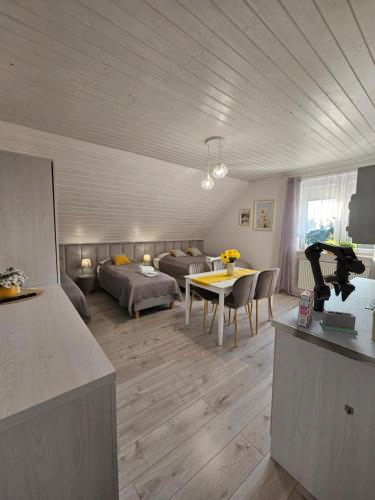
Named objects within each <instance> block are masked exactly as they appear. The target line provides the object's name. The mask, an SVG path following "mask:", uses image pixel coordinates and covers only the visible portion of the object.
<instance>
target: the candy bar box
mask: <svg viewBox="0 0 375 500" xmlns="http://www.w3.org/2000/svg"><path fill="white" fill-rule="evenodd" d="M313 304H314V290H313V291H312V290H306V289H305V290H303V291H302V292H301V293H300V294H299V302H298V312H297V324H296V325H297V326H299V327H303V328H305V329H306V328H308V327H309V326H310V324H311V323H312V321H313V313H314V312H313V311H314V310H313Z"/></svg>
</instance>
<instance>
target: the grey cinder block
mask: <svg viewBox="0 0 375 500" xmlns="http://www.w3.org/2000/svg"><path fill="white" fill-rule="evenodd" d="M322 312H323V313H322V320H323V323H324V324H325V325H326V326H334V327H342V328H350V329H356V320H357V317H356V316H355V314H354V313H351V312H345V311H344V312H343V311H336V310H335V311H333V310H326V309H325V310H323V311H322Z"/></svg>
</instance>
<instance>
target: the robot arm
mask: <svg viewBox="0 0 375 500" xmlns="http://www.w3.org/2000/svg"><path fill="white" fill-rule="evenodd" d="M324 251H327V252H330V253H331V254H333V256H335V258H333V261H336V266H335V267H336V268H335V270H334V271H333V273H330V274H326V275H323V272H322V267H321V263H320V259H321V254H322V253H323V252H324ZM303 253H304V255H305V258H306V259H307V260H308V261H309V264H310V269H311V272H312V276H313V281H314V287H313V292H314V302H313V311H315V312H323V310H326V308H325V302H326V301H327V302H328V301H329V300H330V298H331V296H332V294H331V293H332V291H331V288H330V285H327V284H331V285H332V286H333V289H334V295H335V297H339V295H340V296H341V302H343V303H344V302H346V300H347V299H348V298H349V297H350V295H352V293H353V292H355V291H356V286H355V285H354V284H353V283H351V281H350V280H349V278H350V276H351V275H352V274H355V275H362V274H363V273H364V272H365V271H366V266H365V264H364V263H363V260H361V259H358V256H357V255H356V253H355V251H354V249H353V247H352V246H348V245H347V246H346V245H345V246H343V245H342V246H341V245H339V246H338V245H336V244H332V243H329V242H325V241H315V242H314V243H313V244H311V245H309V246H307V247H306V248H305V250H304V252H303ZM351 273H352V274H351Z"/></svg>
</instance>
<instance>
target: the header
mask: <svg viewBox="0 0 375 500" xmlns="http://www.w3.org/2000/svg"><path fill="white" fill-rule="evenodd" d="M319 324H320V326H321V328H322V329H323V330H324V331H332V332H337V333H338V332H339V333H346V334H347V333H348V334H353V335H355V334H356V335H358V333H359V332H358V331H359V330H357V328H355V329H350V328H342V327H334V326H326V325H325V324H324V323H323V319H321V320H320V319H319Z"/></svg>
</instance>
